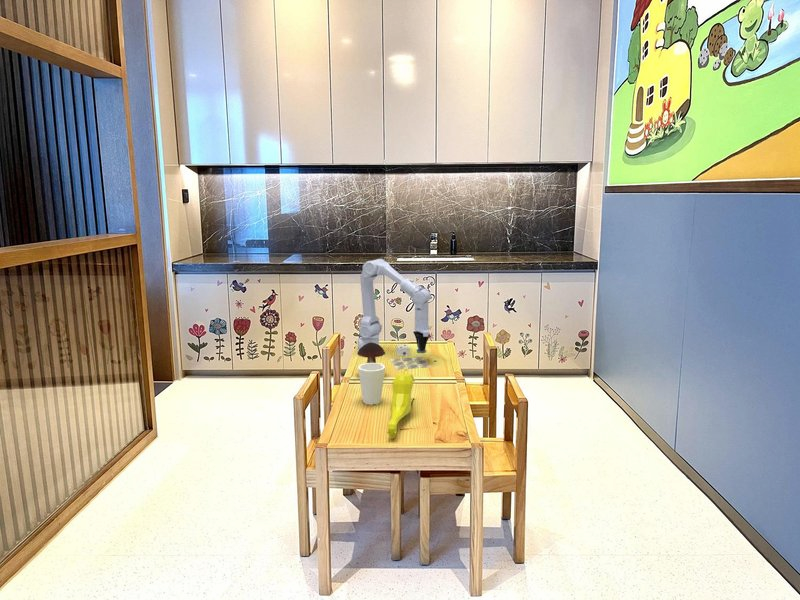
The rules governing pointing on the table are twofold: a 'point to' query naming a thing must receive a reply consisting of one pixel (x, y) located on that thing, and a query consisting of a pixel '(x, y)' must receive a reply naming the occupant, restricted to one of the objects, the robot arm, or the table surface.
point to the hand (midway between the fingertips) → (421, 348)
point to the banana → (400, 400)
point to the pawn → (420, 350)
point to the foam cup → (371, 382)
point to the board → (410, 363)
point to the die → (403, 350)
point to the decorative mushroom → (371, 352)
